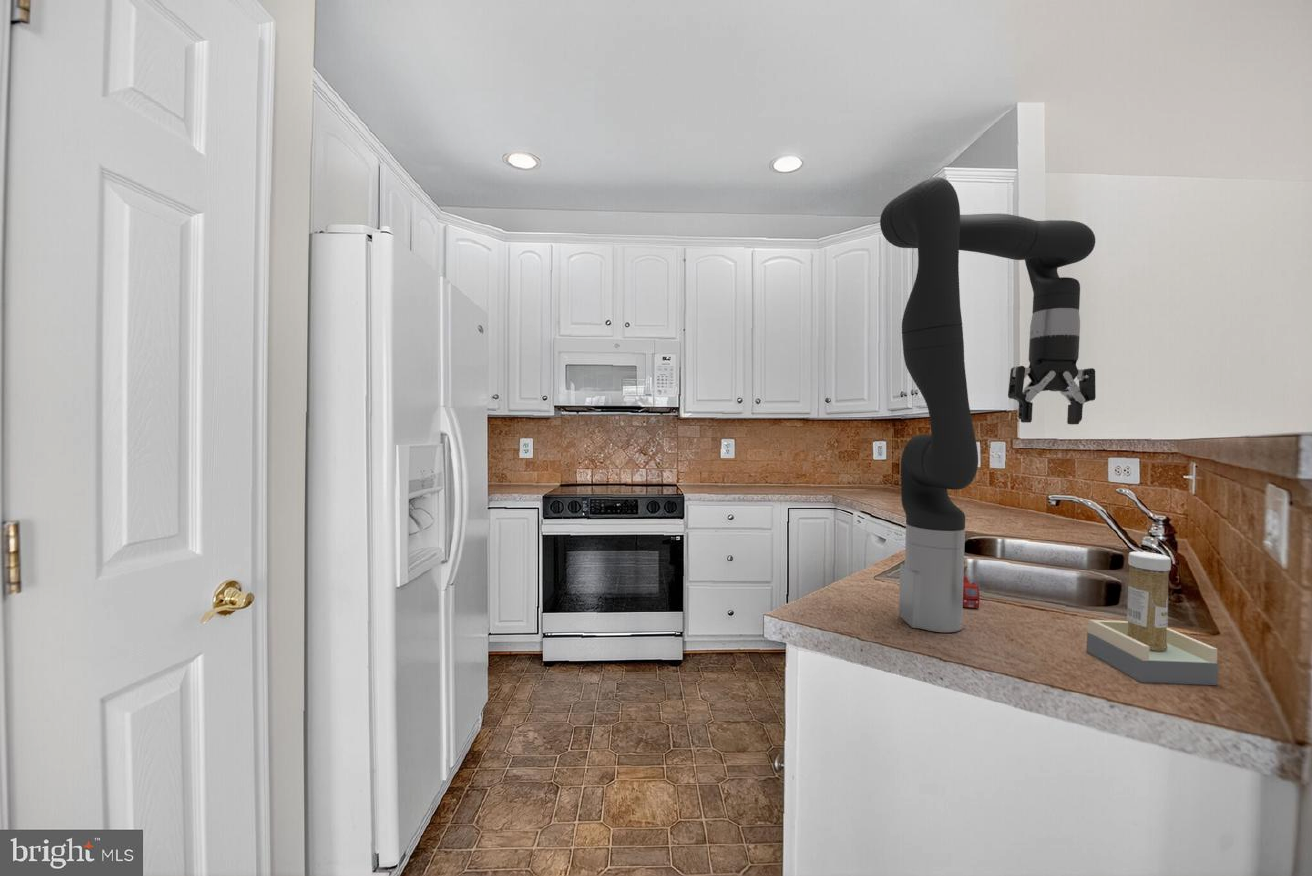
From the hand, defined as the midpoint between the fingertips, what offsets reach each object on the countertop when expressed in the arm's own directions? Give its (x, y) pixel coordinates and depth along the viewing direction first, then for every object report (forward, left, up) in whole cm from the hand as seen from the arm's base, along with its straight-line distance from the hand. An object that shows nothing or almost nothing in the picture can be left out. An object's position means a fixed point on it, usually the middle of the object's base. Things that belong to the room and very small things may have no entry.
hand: (1049, 423), depth 101 cm
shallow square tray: (0, -23, -36) cm, 42 cm away
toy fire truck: (-12, +7, -36) cm, 38 cm away
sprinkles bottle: (0, -23, -33) cm, 40 cm away
